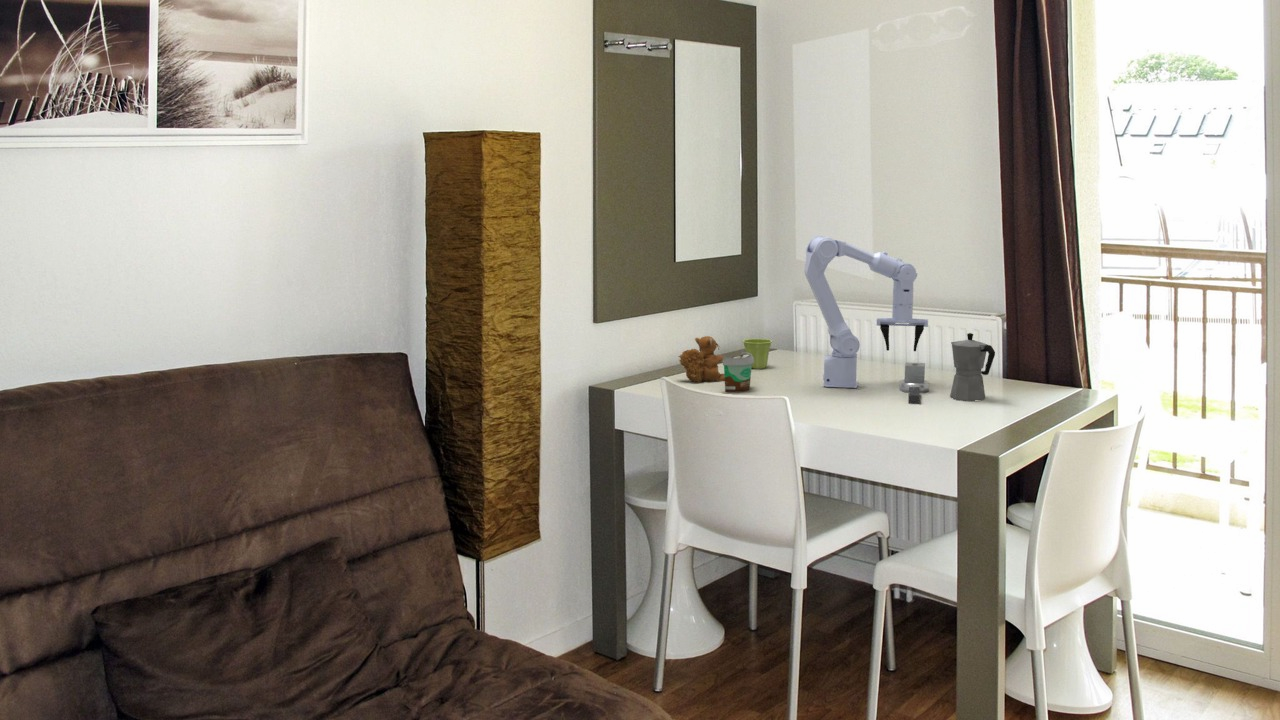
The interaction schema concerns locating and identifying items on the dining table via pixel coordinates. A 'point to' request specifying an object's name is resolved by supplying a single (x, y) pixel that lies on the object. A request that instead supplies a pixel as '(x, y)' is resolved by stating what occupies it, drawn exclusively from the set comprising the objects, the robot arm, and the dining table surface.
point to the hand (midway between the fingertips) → (901, 350)
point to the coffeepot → (970, 368)
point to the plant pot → (758, 351)
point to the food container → (738, 372)
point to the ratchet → (914, 390)
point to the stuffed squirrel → (702, 361)
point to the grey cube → (914, 373)
